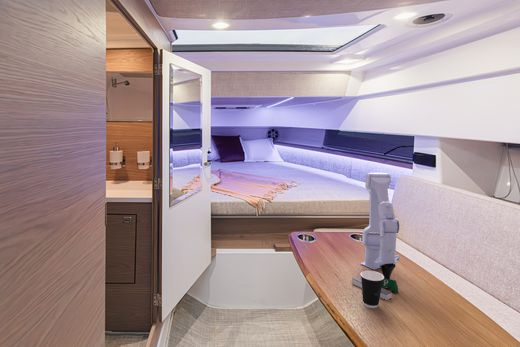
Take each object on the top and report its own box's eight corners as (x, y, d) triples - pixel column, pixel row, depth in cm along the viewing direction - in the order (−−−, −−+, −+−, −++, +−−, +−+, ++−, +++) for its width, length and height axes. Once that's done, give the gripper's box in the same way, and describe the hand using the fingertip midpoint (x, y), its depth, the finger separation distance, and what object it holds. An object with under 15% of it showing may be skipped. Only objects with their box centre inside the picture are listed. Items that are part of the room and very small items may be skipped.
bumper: (356, 281, 131) (357, 276, 131) (391, 298, 118) (391, 292, 117) (351, 283, 129) (352, 278, 129) (386, 300, 116) (386, 294, 116)
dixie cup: (383, 312, 108) (385, 281, 107) (358, 308, 110) (360, 277, 109) (381, 301, 115) (383, 272, 114) (358, 297, 118) (360, 269, 117)
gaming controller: (397, 296, 123) (398, 281, 126) (398, 292, 120) (398, 277, 124) (372, 291, 126) (373, 277, 130) (372, 288, 124) (373, 273, 127)
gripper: (385, 254, 120) (383, 288, 121) (407, 247, 128) (405, 279, 129) (369, 249, 126) (368, 281, 127) (392, 242, 134) (390, 273, 135)
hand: (386, 280), depth 128 cm, fingers closed, pressing on gaming controller
